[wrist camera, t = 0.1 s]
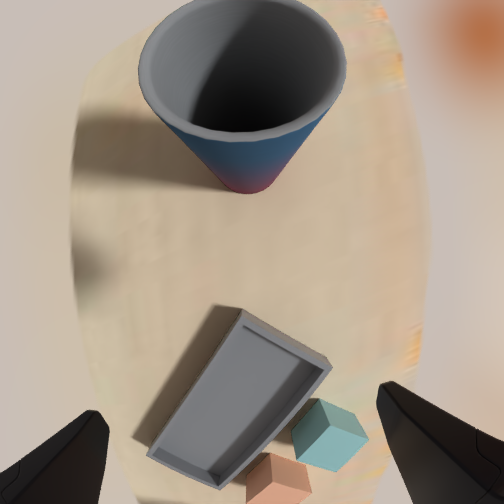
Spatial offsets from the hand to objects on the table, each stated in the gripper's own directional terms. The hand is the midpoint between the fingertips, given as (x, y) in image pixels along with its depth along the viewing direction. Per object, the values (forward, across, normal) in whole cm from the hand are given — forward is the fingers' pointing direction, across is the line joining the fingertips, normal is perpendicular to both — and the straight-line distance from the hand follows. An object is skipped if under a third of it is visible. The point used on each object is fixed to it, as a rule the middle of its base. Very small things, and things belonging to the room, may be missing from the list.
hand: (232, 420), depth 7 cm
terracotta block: (+10, 0, +22) cm, 25 cm away
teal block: (+12, -6, +16) cm, 21 cm away
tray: (+12, +3, +13) cm, 18 cm away
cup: (+18, -2, -7) cm, 19 cm away
